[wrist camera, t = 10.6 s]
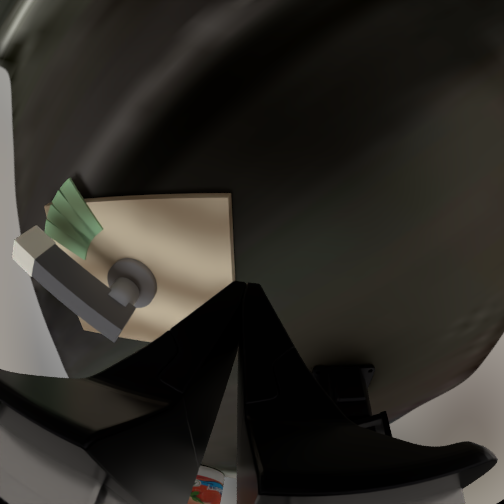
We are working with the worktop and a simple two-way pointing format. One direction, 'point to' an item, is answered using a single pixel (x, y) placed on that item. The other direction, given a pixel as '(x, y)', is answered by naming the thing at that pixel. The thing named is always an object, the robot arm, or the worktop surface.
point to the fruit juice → (207, 487)
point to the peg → (76, 284)
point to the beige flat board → (149, 249)
